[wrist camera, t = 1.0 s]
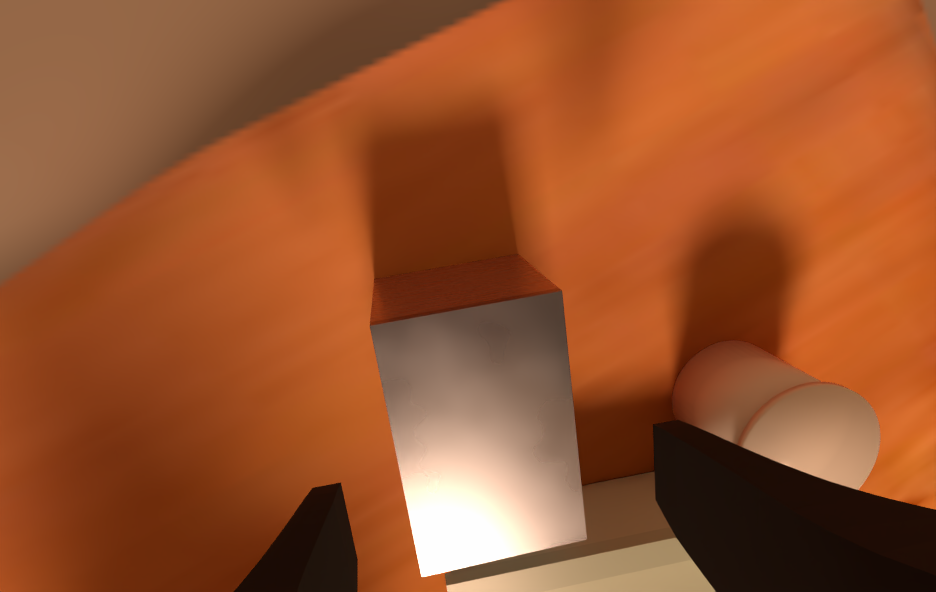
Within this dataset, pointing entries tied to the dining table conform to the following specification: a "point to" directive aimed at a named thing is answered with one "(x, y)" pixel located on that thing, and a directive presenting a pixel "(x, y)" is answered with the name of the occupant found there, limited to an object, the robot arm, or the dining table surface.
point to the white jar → (778, 412)
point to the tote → (599, 551)
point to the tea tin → (480, 410)
